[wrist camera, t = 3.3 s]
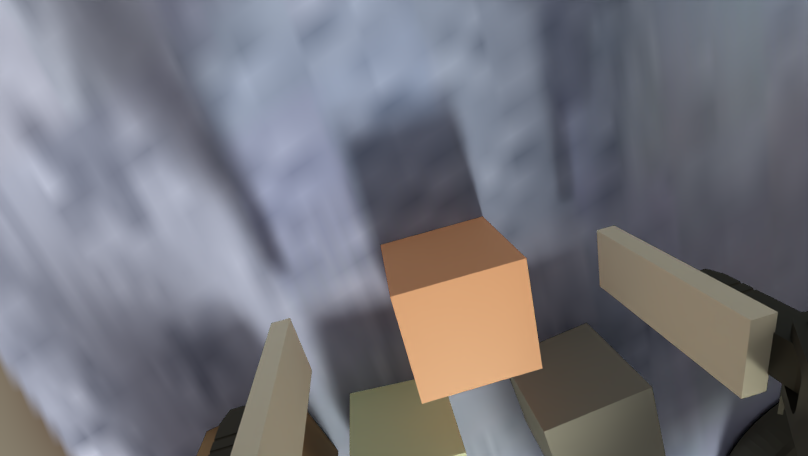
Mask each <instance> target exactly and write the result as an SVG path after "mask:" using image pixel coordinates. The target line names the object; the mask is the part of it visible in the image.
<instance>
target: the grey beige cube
mask: <svg viewBox="0 0 808 456" xmlns="http://www.w3.org/2000/svg"><path fill="white" fill-rule="evenodd" d="M539 348H540V355H541V362H542V369H539V370H535V371H532V372H528V373H525V374H522V375H518V376H515V377H511V378H510V380H511V383H512V386H513V388H514V391H515V394H516V396H517V399H518V402H519V404H520V407H521V410H522V412H523V415H524V418H525V420H526V422H527V424H528V426H529V428H530V430H531V432H532V434H533V435H534V437H535V439H536V441H537V443H538V445H539V447H540V449H541V451H542V452H543V454H544V456H666V455H665V450H664V445H663V440H662V435H661V430H660V425H659V420H658V415H657V410H656V405H655V399H654V394H653V389H652V387H651V386H650V385H649V384H648V383H647V382H646V381H645V380H644V379H643V378H642V377H641V376H640V375H639V374H638V373H637V372H636V371H635V370H634V369H633V368H632V367H631V366H630V365H629V364H628V363H627V362H626V361H625V360H624V359H623V358H622V357H621V356H620V355H619V354H618V353H617V352H616V351H615V350H614V349H613V348H612V347H611V346H610V345H609V344H608V343H607V342H606V341H605V340H604V339H603V338H602V337H601V336H600V335H599V334H598V333H597V332H596V331H595V330H593V329H592V328H591V327H590V326H589V325H588V324H587V323H585V324H583V325H580V326H578V327H576V328H573V329H571V330H568V331H566V332H564V333H561V334H559V335H556V336H554V337H552V338H549V339H547V340H544V341H542V342H540V343H539Z"/></svg>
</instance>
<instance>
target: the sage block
mask: <svg viewBox="0 0 808 456" xmlns="http://www.w3.org/2000/svg"><path fill="white" fill-rule="evenodd" d="M350 456H466V451H465V448H464V445H463V441H462V438H461V435H460V432H459V429H458V426H457V423H456V419H455V416H454V413H453V410H452V407H451V404H450V401H449V398H448V396H447V397H444V398H440V399H437V400H434V401H430V402H427V403H423V404H422V402H421V399H420V395H419V392H418V389H417V385H416V382H415V379H414V380H410V381H405V382H401V383H396V384H391V385H387V386H382V387H378V388H373V389H368V390H364V391H359V392H355V393H350Z"/></svg>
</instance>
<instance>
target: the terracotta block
mask: <svg viewBox="0 0 808 456" xmlns="http://www.w3.org/2000/svg"><path fill="white" fill-rule="evenodd" d="M381 251H382V256H383V261H384V267H385V272H386V277H387V282H388V288H389V293H390V298H391V301H392V305H393V308H394V311H395V315H396V318H397V321H398V325H399V328H400V332H401V335H402V338H403V342H404V345H405V348H406V352H407V355H408V358H409V362H410V365H411V369H412V372H413V375H414V379H415V382H416V385H417V389H418V392H419V395H420V399H421V402H422V404H423V403H427V402H430V401H434V400H437V399H440V398H444V397H447V396H450V395H454V394H457V393H461V392H464V391H467V390H471V389H474V388H478V387H481V386H484V385H488V384H491V383H495V382H498V381H501V380H505V379H508V378H511V377H515V376H518V375H522V374H525V373H528V372H532V371H535V370H539V369H542V362H541V355H540V348H539V341H538V334H537V327H536V321H535V314H534V307H533V300H532V293H531V286H530V279H529V272H528V265H527V259H526V257H525V256H524V255H523V254H521V253H520V252H519V251H518V250H517V249H516V248H515V247H514V246H513V245H512V244H511V243H510V242H509V241H508V240H507V239H506V238H505V237H504V236H503V235H501V234H500V233H499V232H498V231H497V230H496V229H495V228H494V227H493V226H492V225H491V224H490V223H489V222H488V221H487V220H486V219H485V218H484V217H479V218H475V219H472V220H468V221H465V222H461V223H457V224H454V225H450V226H447V227H443V228H439V229H436V230H432V231H429V232H425V233H422V234H418V235H414V236H411V237H407V238H404V239H400V240H396V241H393V242H389V243H386V244H382V245H381Z"/></svg>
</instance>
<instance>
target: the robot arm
mask: <svg viewBox="0 0 808 456" xmlns="http://www.w3.org/2000/svg"><path fill="white" fill-rule="evenodd" d="M597 244H598V262H599V280H600V287H602V288H603V289H604V290H605V291H607V292H608V293H609V294H610V295H612V296H613V297H614V298H615V299H617V300H618V301H619V302H620V303H622V304H623V305H624V306H625V307H627V308H628V309H629V310H630V311H632V312H633V313H634V314H635V315H637V316H638V317H639V318H640V319H642V320H643V321H644V322H646V323H647V324H648V325H649V326H651V327H652V328H653V329H654V330H656V331H657V332H658V333H659V334H661V335H662V336H663V337H664V338H666V339H667V340H668V341H669V342H671V343H672V344H673V345H674V346H676V347H677V348H678V349H679V350H681V351H682V352H683V353H684V354H686V355H687V356H688V357H689V358H691V359H692V360H693V361H694V362H696V363H697V364H698V365H699V366H701V367H702V368H703V369H705V370H706V371H707V372H708V373H710V374H711V375H712V376H713V377H715V378H716V379H717V380H718V381H720V382H721V383H722V384H723V385H725V386H726V387H727V388H728V389H730V390H731V391H732V392H733V393H735V394H736V395H737V396H738V397H740V398H741V399H743V398H746V397H749V396H753V395H756V394H759V393H762V392H765V391H766V389H767V383H768V376H769V375H770V376H772V377H773V378H775V379H776V380H778V381H779V382H781V383H782V388H781V393H780V399H779V403H778V404H777V405H776V406H774V407H773V408H772V409H770V410H769V411H768V412H767V413H766V414H764V415H763V416H762V417H761V418H760V419H759V420H758V421H757V422H756V423H755V424H754V425H753V426H752V427H751V428H750V429H749V430H748V431H747V432H746V433H745V434H744V436H743V437H742V438H741V439H740V440H739V442H738V443H737V445H736V446H735V447H734V449H733V450H732V452H731V454H730V455H729V456H808V311H806V312H800V311H798V310H796V309H794V308H792V307H790V306H788V305H786V304H784V303H782V302H780V301H778V300H776V299H774V298H772V297H770V296H768V295H766V294H764V293H762V292H760V291H758V290H753V288H752V287H750V286H748V285H746V284H744V283H742V284H741V283H740V281H738V280H736V279H734V278H732V277H730V276H728V275H726V274H723V273H719V272H716V271H712V270H708V269H703V270H700V271H699V270H697V269H695V268H694V267H692V266H690V265H688V264H686V263H684V262H682V261H680V260H678V259H676V258H675V257H673V256H671V255H669V254H667V253H665V252H663V251H661V250H659V249H658V248H656V247H654V246H652V245H650V244H648V243H646V242H644V241H642V240H641V239H639V238H637V237H635V236H633V235H631V234H629V233H627V232H625V231H624V230H622V229H620V228H618V227H616V226H610V227H607V228H603V229H600V230H597ZM311 374H312V369H311V367H310V365H309V362H308V360H307V357H306V355H305V353H304V350H303V348H302V345H301V343H300V341H299V338H298V336H297V334H296V331H295V329H294V326H293V324H292V322H291V319H290V318H288V319H285V320H281V321H278V322H274V323H271V326H270V329H269V332H268V336H267V339H266V342H265V345H264V349H263V352H262V355H261V358H260V361H259V365H258V368H257V371H256V374H255V378H254V381H253V384H252V387H251V390H250V394H249V397H248V400H247V403H246V405H245V406H241V407H238V408H235V409H231V410H230V411H229V412H228V414H227V415H226V416H225V418H224V419H223V421H222V422H221V423H220V425H219V427H218V430H217V433H216V436H215V438H214V442H213V444H212V446H211V449H210V454H209V455H208V456H302V451H303V442H304V434H305V425H306V417H307V408H308V400H309V391H310V383H311Z"/></svg>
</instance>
